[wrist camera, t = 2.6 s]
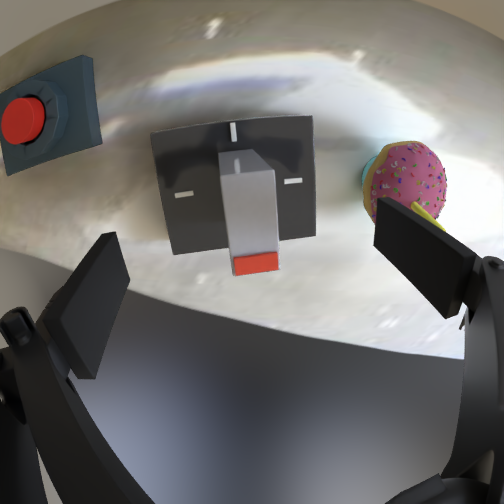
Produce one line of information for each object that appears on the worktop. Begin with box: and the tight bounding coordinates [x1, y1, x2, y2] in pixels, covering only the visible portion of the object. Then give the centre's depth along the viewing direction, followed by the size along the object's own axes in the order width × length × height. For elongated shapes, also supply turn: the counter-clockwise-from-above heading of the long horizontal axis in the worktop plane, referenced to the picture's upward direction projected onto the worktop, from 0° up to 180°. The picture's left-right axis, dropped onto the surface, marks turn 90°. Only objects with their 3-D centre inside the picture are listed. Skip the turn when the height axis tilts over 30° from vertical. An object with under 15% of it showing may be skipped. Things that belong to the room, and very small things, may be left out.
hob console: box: [150, 115, 316, 255], centre depth 23 cm, size 12×10×3 cm
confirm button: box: [1, 98, 45, 144], centre depth 15 cm, size 4×4×2 cm
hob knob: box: [218, 149, 280, 276], centre depth 18 cm, size 6×3×8 cm, turn 5°
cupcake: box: [362, 141, 447, 232], centre depth 20 cm, size 9×8×12 cm
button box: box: [0, 55, 102, 176], centre depth 17 cm, size 10×8×4 cm
